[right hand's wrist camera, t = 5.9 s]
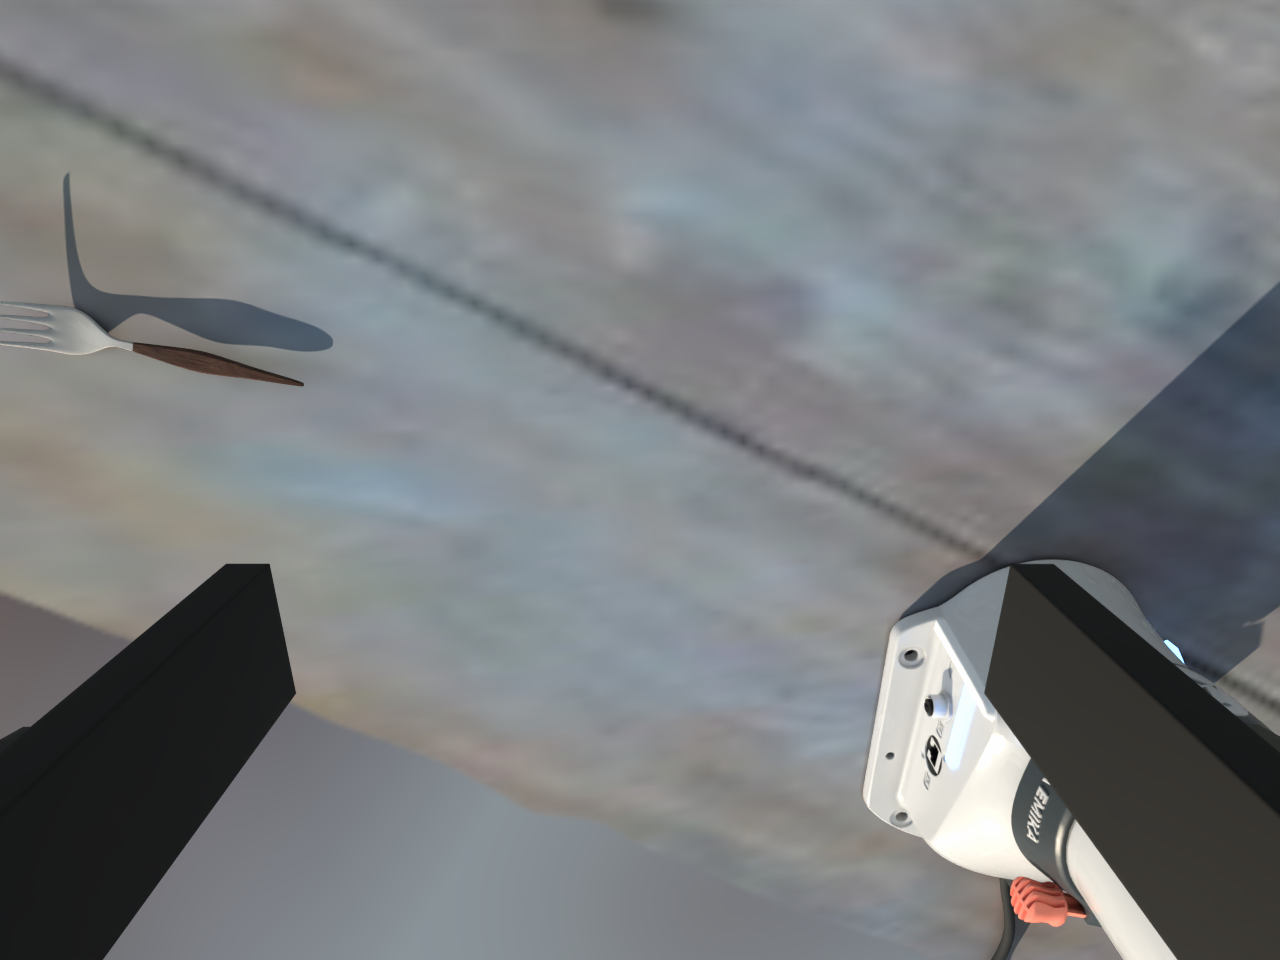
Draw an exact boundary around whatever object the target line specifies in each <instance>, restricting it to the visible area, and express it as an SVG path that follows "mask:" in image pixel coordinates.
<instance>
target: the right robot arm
mask: <svg viewBox="0 0 1280 960" xmlns="http://www.w3.org/2000/svg"><path fill="white" fill-rule="evenodd" d="M295 694H296V691H295V686H294V681H293V676H292V672H291V667H290V662H289V657H288V652H287V647H286V642H285V637H284V632H283V627H282V623H281V618H280V613H279V608H278V603H277V598H276V593H275V588H274V583H273V578H272V574H271V569H270V564H225V565H224V566H223V567H222V568H221V569H219V570H218V571H217V572H216V573H215V574H213V575H212V576H211V577H210V578H209V579H207V580H206V581H205V582H204V583H203V584H201V585H200V586H199V587H198V588H197V589H196V590H194V591H193V592H192V593H191V594H190V595H188V596H187V597H186V598H185V599H184V600H182V601H181V602H180V603H179V604H178V605H176V606H175V607H174V608H173V609H172V610H170V611H169V612H168V613H167V614H166V615H164V616H163V617H162V618H161V619H160V620H158V621H157V622H156V623H155V624H154V625H152V626H151V627H150V628H149V629H148V630H146V631H145V632H144V633H143V634H142V635H140V636H139V637H138V638H137V639H136V640H134V641H133V642H132V643H131V644H130V645H128V646H127V647H126V648H125V649H124V650H122V651H121V652H120V653H119V654H118V655H116V656H115V657H114V658H113V659H112V660H110V661H109V662H108V663H107V664H106V665H104V666H103V667H102V668H101V669H100V670H98V671H97V672H96V673H95V674H94V675H92V676H91V677H90V678H89V679H88V680H86V681H85V682H84V683H83V684H82V685H80V686H79V687H78V688H77V689H76V690H74V691H73V692H72V693H71V694H70V695H68V696H67V697H66V698H65V699H64V700H62V701H61V702H60V703H59V704H58V705H56V706H55V707H54V708H53V709H52V710H50V711H49V712H48V713H47V714H46V715H44V716H43V717H42V718H41V719H40V720H38V721H37V722H36V723H35V724H34V725H32V726H31V727H22V728H20V729H18V730H17V731H15V732H13V733H11V734H9V735H8V736H6V737H4V738H2V739H0V960H103V959H104V957H105V956H106V955H107V953H108V952H109V950H110V949H111V948H112V946H113V945H114V944H115V942H116V941H117V939H118V938H119V937H120V935H121V934H122V933H123V931H124V930H125V928H126V927H127V926H128V924H129V923H130V922H131V920H132V919H133V917H134V916H135V915H136V913H137V912H138V911H139V909H140V908H141V906H142V905H143V904H144V902H145V901H146V899H147V898H148V897H149V895H150V894H151V893H152V891H153V890H154V888H155V887H156V886H157V884H158V883H159V882H160V880H161V879H162V877H163V876H164V875H165V873H166V872H167V870H168V869H169V868H170V866H171V865H172V864H173V862H174V861H175V859H176V858H177V857H178V855H179V854H180V853H181V851H182V850H183V848H184V847H185V846H186V844H187V843H188V842H189V840H190V839H191V837H192V836H193V835H194V833H195V832H196V831H197V829H198V828H199V826H200V825H201V824H202V822H203V821H204V819H205V818H206V817H207V815H208V814H209V813H210V811H211V810H212V808H213V807H214V806H215V804H216V803H217V802H218V800H219V799H220V797H221V796H222V795H223V793H224V792H225V790H226V789H227V788H228V786H229V785H230V784H231V782H232V781H233V780H234V778H235V777H236V775H237V774H238V773H239V771H240V770H241V768H242V767H243V766H244V764H245V763H246V762H247V760H248V759H249V757H250V756H251V755H252V753H253V752H254V751H255V749H256V748H257V746H258V745H259V744H260V742H261V741H262V739H263V738H264V737H265V735H266V734H267V733H268V731H269V730H270V728H271V727H272V726H273V724H274V723H275V722H276V720H277V719H278V717H279V716H280V715H281V713H282V712H283V711H284V709H285V708H286V706H287V705H288V704H289V702H290V701H291V700H292V698H293V697H294V695H295ZM984 694H985V695H986V697H987V698H988V700H989V701H990V702H991V704H992V705H993V706H994V708H995V709H996V711H997V712H998V713H999V715H1000V716H1001V717H1002V719H1003V720H1004V722H1005V723H1006V724H1007V726H1008V727H1009V728H1010V730H1011V731H1012V733H1013V734H1014V735H1015V737H1016V738H1017V740H1018V741H1019V742H1020V744H1021V745H1022V746H1023V748H1024V749H1025V751H1026V752H1027V753H1028V755H1029V756H1030V757H1031V759H1032V760H1033V762H1034V763H1035V764H1036V766H1037V767H1038V768H1039V770H1040V771H1041V773H1042V774H1043V775H1044V777H1045V778H1046V780H1047V781H1048V782H1049V784H1050V785H1051V786H1052V788H1053V789H1054V791H1055V792H1056V793H1057V795H1058V796H1059V797H1060V799H1061V800H1062V802H1063V803H1064V804H1065V806H1066V807H1067V808H1068V810H1069V811H1070V813H1071V814H1072V815H1073V817H1074V818H1075V820H1076V821H1077V822H1078V824H1079V825H1080V826H1081V828H1082V829H1083V831H1084V832H1085V833H1086V835H1087V836H1088V837H1089V839H1090V840H1091V842H1092V843H1093V844H1094V846H1095V847H1096V848H1097V850H1098V851H1099V853H1100V854H1101V855H1102V857H1103V858H1104V859H1105V861H1106V862H1107V864H1108V865H1109V866H1110V868H1111V869H1112V871H1113V872H1114V873H1115V875H1116V876H1117V877H1118V879H1119V880H1120V882H1121V883H1122V884H1123V886H1124V887H1125V888H1126V890H1127V891H1128V893H1129V894H1130V895H1131V897H1132V898H1133V899H1134V901H1135V902H1136V904H1137V905H1138V906H1139V908H1140V909H1141V911H1142V912H1143V913H1144V915H1145V916H1146V917H1147V919H1148V920H1149V922H1150V923H1151V924H1152V926H1153V927H1154V928H1155V930H1156V931H1157V933H1158V934H1159V935H1160V937H1161V938H1162V939H1163V941H1164V942H1165V944H1166V945H1167V946H1168V948H1169V949H1170V951H1171V952H1172V953H1173V955H1174V956H1175V957H1176V959H1177V960H1280V736H1278V735H1276V734H1274V733H1272V732H1271V731H1269V730H1267V729H1265V728H1263V727H1262V726H1260V725H1258V724H1245V723H1244V722H1243V721H1242V720H1240V719H1239V718H1238V717H1237V716H1236V715H1234V714H1233V713H1232V712H1231V711H1230V710H1228V709H1227V708H1226V707H1225V706H1224V705H1222V704H1221V703H1220V702H1219V701H1218V700H1216V699H1215V698H1214V697H1213V696H1212V695H1210V694H1209V693H1208V692H1207V691H1206V690H1204V689H1203V688H1202V687H1201V686H1200V685H1198V684H1197V683H1196V682H1195V681H1194V680H1192V679H1191V678H1190V677H1189V676H1188V675H1186V674H1185V673H1184V672H1183V671H1182V670H1180V669H1179V668H1178V667H1177V666H1176V665H1174V664H1173V663H1172V662H1171V661H1170V660H1168V659H1167V658H1166V657H1165V656H1164V655H1162V654H1161V653H1160V652H1159V651H1158V650H1156V649H1155V648H1154V647H1153V646H1152V645H1150V644H1149V643H1148V642H1147V641H1146V640H1144V639H1143V638H1142V637H1141V636H1140V635H1138V634H1137V633H1136V632H1135V631H1134V630H1132V629H1131V628H1130V627H1129V626H1128V625H1126V624H1125V623H1124V622H1123V621H1122V620H1120V619H1119V618H1118V617H1117V616H1116V615H1114V614H1113V613H1112V612H1111V611H1110V610H1108V609H1107V608H1106V607H1105V606H1104V605H1102V604H1101V603H1100V602H1099V601H1098V600H1096V599H1095V598H1094V597H1093V596H1092V595H1090V594H1089V593H1088V592H1087V591H1086V590H1084V589H1083V588H1082V587H1081V586H1080V585H1079V584H1077V583H1076V582H1075V581H1074V580H1073V579H1071V578H1070V577H1069V576H1068V575H1067V574H1065V573H1064V572H1063V571H1062V570H1061V569H1059V568H1058V567H1057V566H1056V565H1055V564H1010V569H1009V574H1008V578H1007V583H1006V588H1005V593H1004V598H1003V603H1002V608H1001V613H1000V618H999V623H998V627H997V632H996V637H995V642H994V647H993V652H992V657H991V662H990V667H989V672H988V676H987V681H986V686H985V691H984Z"/></svg>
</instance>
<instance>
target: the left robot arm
mask: <svg viewBox="0 0 1280 960" xmlns="http://www.w3.org/2000/svg"><path fill="white" fill-rule="evenodd" d="M1019 564H1055V565H1056V566H1057V567H1058V568H1059V569H1061V570H1062V571H1063V572H1064V573H1065V574H1067V575H1068V576H1069V577H1070V578H1071V579H1073V580H1074V581H1075V582H1076V583H1077V584H1079V585H1080V586H1081V587H1082V588H1083V589H1084V590H1086V591H1087V592H1088V593H1089V594H1090V595H1092V596H1093V597H1094V598H1095V599H1096V600H1098V601H1099V602H1100V603H1101V604H1102V605H1104V606H1105V607H1106V608H1107V609H1108V610H1110V611H1111V612H1112V613H1113V614H1114V615H1116V616H1117V617H1118V618H1119V619H1120V620H1122V621H1123V622H1124V623H1125V624H1126V625H1128V626H1129V627H1130V628H1131V629H1132V630H1134V631H1135V632H1136V633H1137V634H1138V635H1140V636H1141V637H1142V638H1143V639H1144V640H1146V641H1147V642H1148V643H1149V644H1150V645H1152V646H1153V647H1154V648H1155V649H1156V650H1158V651H1159V652H1160V653H1161V654H1162V655H1164V656H1165V657H1166V658H1167V659H1168V660H1170V661H1171V662H1172V663H1173V664H1174V665H1176V666H1177V667H1178V668H1179V669H1180V670H1182V671H1183V672H1184V673H1185V674H1186V675H1188V676H1189V677H1190V678H1191V679H1192V680H1194V681H1195V682H1196V683H1197V684H1198V685H1200V686H1201V687H1202V688H1203V689H1204V690H1206V691H1207V692H1208V693H1209V694H1210V695H1212V696H1213V697H1214V698H1215V699H1216V700H1218V701H1219V702H1220V703H1221V704H1222V705H1224V706H1225V707H1226V708H1227V709H1228V710H1230V711H1231V712H1232V713H1233V714H1234V715H1236V716H1237V717H1238V718H1239V719H1240V720H1242V721H1243V722H1244V723H1245V724H1258V725H1260V726H1262V727H1263V728H1265V729H1267V730H1269V731H1271V730H1270V729H1269V728H1268V727H1267V726H1265V725H1264V724H1263V723H1262V722H1261V721H1260V720H1258V719H1257V718H1256V717H1255V716H1253V715H1252V714H1251V713H1250V712H1248V711H1247V709H1246V708H1245V707H1244V706H1243V705H1242V704H1241V703H1239V702H1238V701H1237V700H1236V699H1235V698H1233V697H1232V696H1231V695H1229V694H1228V693H1227V692H1225V691H1224V690H1223V689H1221V688H1220V687H1218V686H1217V685H1216V684H1214V683H1212V682H1211V681H1209V680H1208V679H1206V678H1204V677H1203V676H1202V675H1200V674H1199V673H1197V672H1195V671H1193V670H1192V669H1189V668H1188V667H1187V666H1186V665H1185V664H1184V662H1183V659H1182V657H1181V654H1180V652H1179V650H1178V648H1177V647H1176V646H1174V645H1173V644H1172V643H1171V642H1169V641H1168V640H1166V641H1163V640H1162V638H1161V637H1160V636H1159V635H1158V634H1157V632H1156V631H1155V630H1154V629H1153V627H1152V626H1151V625H1150V623H1149V622H1148V621H1147V619H1146V618H1145V616H1144V615H1143V613H1142V611H1141V610H1140V608H1139V606H1138V604H1137V602H1136V600H1135V599H1134V597H1133V596H1132V594H1131V593H1130V592H1129V590H1128V589H1127V588H1126V587H1125V586H1124V585H1123V584H1122V583H1121V582H1120V581H1119V580H1117V579H1116V578H1115V577H1113V576H1112V575H1110V574H1109V573H1107V572H1105V571H1103V570H1101V569H1099V568H1096V567H1094V566H1091V565H1088V564H1085V563H1081V562H1076V561H1070V560H1057V559H1049V560H1036V561H1029V562H1024V563H1019ZM1009 569H1010V566H1009V567H1006V568H1003V569H1000V570H998V571H995V572H993V573H991V574H989V575H987V576H985V577H983V578H981V579H979V580H977V581H976V582H974V583H973V584H971V585H969V586H968V587H967V588H965V589H964V590H962V591H961V592H960V593H958V594H957V595H956V596H954V597H953V598H951V599H950V600H948V601H947V602H945V603H944V604H942V605H940V606H938V607H934V608H931V609H927V610H924V611H921V612H918V613H915V614H912V615H910V616H907V617H905V618H903V619H901V620H900V621H898V622H897V623H896V624H895V625H894V626H893V628H892V630H891V633H890V638H889V644H888V649H887V655H886V661H885V667H884V672H883V678H882V684H881V690H880V695H879V701H878V707H877V713H876V718H875V724H874V730H873V736H872V741H871V747H870V753H869V759H868V764H867V770H866V776H865V782H864V788H863V798H864V800H865V802H866V804H867V806H868V808H869V809H870V810H871V811H872V812H873V813H874V814H875V815H877V816H878V817H879V818H880V819H882V820H883V821H885V822H887V823H888V824H890V825H892V826H894V827H896V828H898V829H900V830H902V831H905V832H907V833H910V834H913V835H916V836H919V837H923V839H924V840H925V841H926V842H927V844H928V845H929V846H930V847H931V848H932V849H933V850H934V851H936V852H937V853H938V854H940V855H941V856H942V857H944V858H945V859H947V860H949V861H951V862H953V863H955V864H957V865H959V866H962V867H964V868H966V869H969V870H972V871H975V872H978V873H982V874H986V875H990V876H995V877H999V878H1000V887H1001V895H1002V901H1003V908H1004V932H1003V936H1002V939H1001V942H1000V944H999V947H998V949H997V951H996V953H995V954H994V956H993V958H992V959H991V960H1005V959H1006V957H1007V955H1008V953H1009V951H1010V948H1011V946H1012V943H1013V939H1014V933H1015V915H1014V912H1015V913H1016V914H1018V918H1020V919H1021V920H1024V921H1025V922H1032V923H1036V922H1046V923H1048V924H1050V925H1052V926H1060V925H1062V924H1063V923H1064V922H1065V920H1066V918H1067V915H1070V916H1076V917H1082V918H1084V920H1085V921H1086V923H1087V924H1089V925H1093V926H1098V927H1103V929H1104V930H1105V932H1106V933H1107V935H1108V936H1109V938H1110V940H1111V941H1112V943H1113V944H1114V946H1115V947H1116V949H1117V950H1118V952H1119V953H1120V955H1121V956H1122V958H1123V960H1177V959H1176V957H1175V956H1174V955H1173V953H1172V952H1171V951H1170V949H1169V948H1168V946H1167V945H1166V944H1165V942H1164V941H1163V939H1162V938H1161V937H1160V935H1159V934H1158V933H1157V931H1156V930H1155V928H1154V927H1153V926H1152V924H1151V923H1150V922H1149V920H1148V919H1147V917H1146V916H1145V915H1144V913H1143V912H1142V911H1141V909H1140V908H1139V906H1138V905H1137V904H1136V902H1135V901H1134V899H1133V898H1132V897H1131V895H1130V894H1129V893H1128V891H1127V890H1126V888H1125V887H1124V886H1123V884H1122V883H1121V882H1120V880H1119V879H1118V877H1117V876H1116V875H1115V873H1114V872H1113V871H1112V869H1111V868H1110V866H1109V865H1108V864H1107V862H1106V861H1105V859H1104V858H1103V857H1102V855H1101V854H1100V853H1099V851H1098V850H1097V848H1096V847H1095V846H1094V844H1093V843H1092V842H1091V840H1090V839H1089V837H1088V836H1087V835H1086V833H1085V832H1084V831H1083V829H1082V828H1081V826H1080V825H1079V824H1078V822H1077V821H1076V820H1075V818H1074V817H1073V815H1072V814H1071V813H1070V811H1069V810H1068V808H1067V807H1066V806H1065V804H1064V803H1063V802H1062V800H1061V799H1060V797H1059V796H1058V795H1057V793H1056V792H1055V791H1054V789H1053V788H1052V786H1051V785H1050V784H1049V782H1048V781H1047V780H1046V778H1045V777H1044V775H1043V774H1042V773H1041V771H1040V770H1039V768H1038V767H1037V766H1036V764H1035V763H1034V762H1033V760H1032V759H1031V757H1030V756H1029V755H1028V753H1027V752H1026V751H1025V749H1024V748H1023V746H1022V745H1021V744H1020V742H1019V741H1018V740H1017V738H1016V737H1015V735H1014V734H1013V733H1012V731H1011V730H1010V728H1009V727H1008V726H1007V724H1006V723H1005V722H1004V720H1003V719H1002V717H1001V716H1000V715H999V713H998V712H997V711H996V709H995V708H994V706H993V705H992V704H991V702H990V701H989V700H988V698H987V697H986V695H985V694H984V691H985V686H986V681H987V676H988V672H989V667H990V662H991V657H992V652H993V647H994V642H995V637H996V632H997V627H998V623H999V618H1000V613H1001V608H1002V603H1003V598H1004V593H1005V588H1006V583H1007V578H1008V574H1009ZM909 650H913V652H912V653H911V654H908V655H905V653H906V652H907V651H909ZM1271 732H1272V731H1271ZM1272 733H1273V732H1272ZM1274 734H1275V733H1274ZM900 812H901V813H900ZM1010 888H1011V889H1010ZM1062 890H1065V891H1066V892H1067V893H1063V891H1062ZM1013 906H1015V907H1013Z"/></svg>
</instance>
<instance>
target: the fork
mask: <svg viewBox="0 0 1280 960" xmlns="http://www.w3.org/2000/svg"><path fill="white" fill-rule="evenodd" d="M0 305H4V306H11V307H18V308H25V309H32V310H38V311H43V312H46V313H48V314H49V316H47V317H30V316H14V315H0V318H2V319H9V320H17V321H24V322H31V323H38V324H43V325H46V326H48V327H49V328H50V329H48V330H29V329H9V328H0V331H1V332H8V333H16V334H24V335H31V336H38V337H44V338H47V339H49V340H50V342H49V343H30V342H7V341H0V345H9V346H17V347H25V348H33V349H41V350H48V351H54V352H60V353H66V354H74V355H81V354H89V353H93V352H96V351H98V350H101V349H104V348H107V347H120V348H124V349H127V350H130V351H133V352H136V353H139V354H142V355H145V356H148V357H151V358H154V359H157V360H160V361H163V362H166V363H169V364H172V365H175V366H178V367H181V368H185V369H188V370H192V371H196V372H201V373H207V374H214V375H221V376H230V377H238V378H246V379H253V380H260V381H267V382H274V383H280V384H287V385H295V386H304V383H302V382H300V381H297V380H294V379H290V378H287V377H284V376H281V375H277V374H274V373H271V372H267V371H264V370H261V369H257V368H254V367H251V366H248V365H244V364H241V363H238V362H235V361H232V360H229V359H226V358H223V357H220V356H217V355H214V354H210V353H206V352H202V351H197V350H192V349H185V348H177V347H169V346H161V345H152V344H144V343H135V342H128V341H123V340H119V339H116V338H114V337H112V336H111V335H110V334H108V333H107V332H106V331H105V330H104V329H103V328H102V327H101V326H100V325H99V324H97V323H96V322H95V321H94V320H93V319H92V318H91V317H90V316H88V315H87V314H85V313H84V312H82V311H80V310H77V309H75V308H72V307H67V306H59V305H45V304H33V303H19V302H3V301H0Z"/></svg>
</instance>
